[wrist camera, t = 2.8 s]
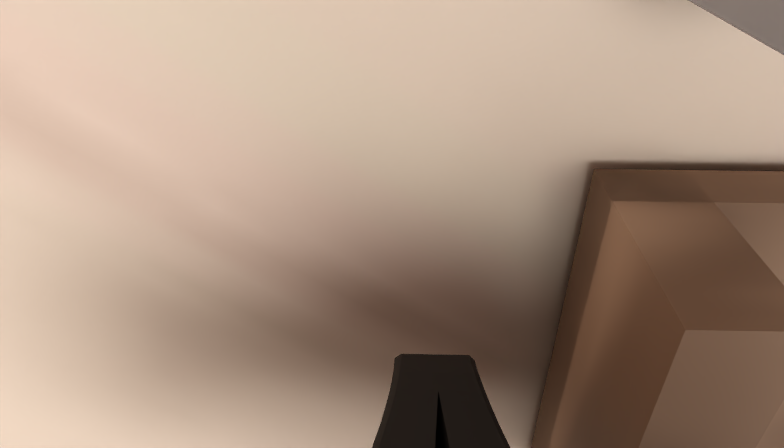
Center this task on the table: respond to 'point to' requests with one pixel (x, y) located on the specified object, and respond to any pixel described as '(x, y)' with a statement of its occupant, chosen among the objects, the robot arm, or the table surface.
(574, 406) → the strip
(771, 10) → the strip
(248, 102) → the table surface
